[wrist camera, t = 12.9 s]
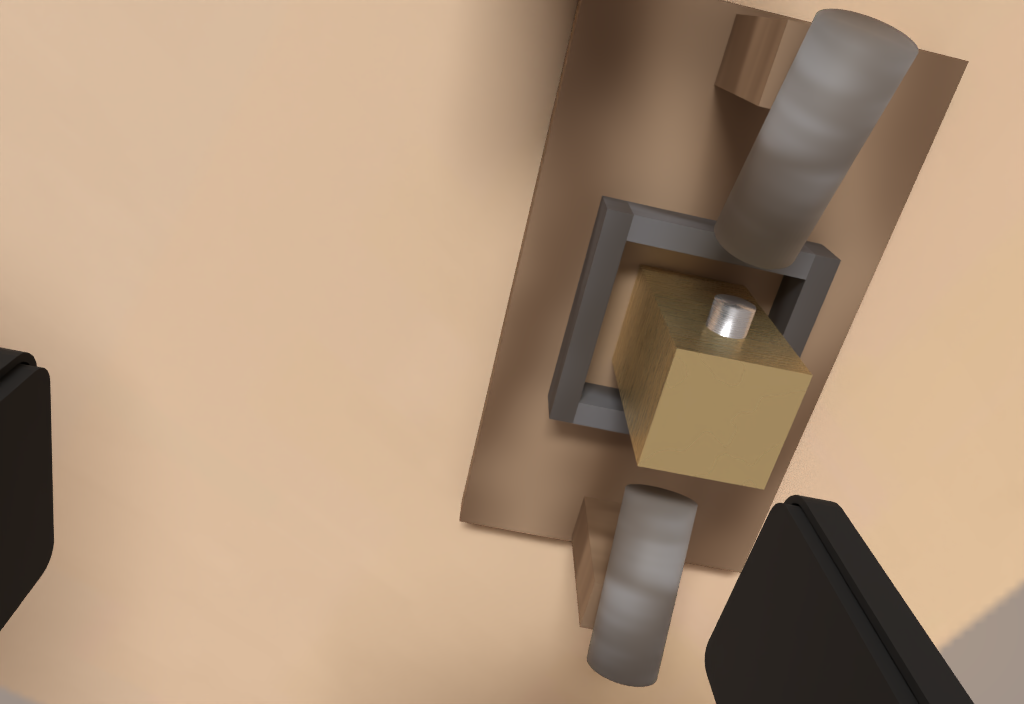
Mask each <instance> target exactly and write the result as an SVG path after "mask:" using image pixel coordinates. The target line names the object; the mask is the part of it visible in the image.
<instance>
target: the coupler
mask: <svg viewBox="0 0 1024 704" xmlns="http://www.w3.org/2000/svg"><path fill="white" fill-rule="evenodd" d="M612 364H613V368H614V372H615V376H616V380H617V384H618V388H619V392H620V397H621V401H622V405H623V409H624V413H625V417H626V421H627V425H628V429H629V433H630V437H631V442H632V446H633V450H634V454H635V458H636V462H637V466H640V467H645V468H650V469H656V470H661V471H667V472H672V473H677V474H683V475H688V476H694V477H699V478H704V479H710V480H715V481H720V482H726V483H731V484H737V485H742V486H747V487H753V488H758V489H763V490H764V489H765V486H766V484H767V482H768V479H769V477H770V475H771V472H772V470H773V468H774V465H775V463H776V461H777V458H778V456H779V454H780V451H781V449H782V447H783V444H784V442H785V439H786V437H787V435H788V432H789V430H790V428H791V425H792V423H793V421H794V418H795V416H796V414H797V411H798V409H799V407H800V404H801V402H802V400H803V397H804V395H805V393H806V390H807V388H808V386H809V383H810V381H811V379H812V376H813V375H812V374H811V372H810V371H809V370H808V368H807V367H806V366H805V364H804V363H803V362H802V360H801V359H800V358H799V356H798V355H797V354H796V353H795V351H794V350H793V349H792V347H791V346H790V345H789V343H788V342H787V341H786V339H785V338H784V337H783V335H782V334H781V333H780V331H779V330H778V329H777V327H776V326H775V325H774V323H773V322H772V321H771V320H770V318H769V317H768V316H767V314H766V313H765V312H764V310H763V309H762V308H761V306H760V305H759V304H758V302H757V301H756V300H755V298H754V297H753V296H752V294H751V293H750V292H749V290H748V289H747V288H746V286H744V285H739V284H734V283H729V282H724V281H720V280H715V279H710V278H705V277H700V276H695V275H691V274H686V273H681V272H676V271H671V270H667V269H662V268H657V267H652V266H647V265H642V264H640V267H639V270H638V274H637V277H636V280H635V284H634V287H633V290H632V294H631V297H630V300H629V304H628V307H627V311H626V314H625V317H624V321H623V324H622V327H621V331H620V334H619V338H618V341H617V344H616V348H615V351H614V354H613V358H612Z"/></svg>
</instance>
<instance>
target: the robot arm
mask: <svg viewBox="0 0 1024 704" xmlns="http://www.w3.org/2000/svg"><path fill="white" fill-rule="evenodd" d="M53 545H54V525H53V481H52V438H51V394H50V376H49V373H48V371H47V370H46V369H45V368H41V367H37V364H36V361H35V359H34V357H33V356H32V355H31V354H30V353H27V352H21V351H16V350H10V349H5V348H0V631H1V629H2V628H3V627H4V625H5V624H6V623H7V621H8V620H9V619H10V617H11V616H12V615H13V613H14V612H15V611H16V609H17V608H18V607H19V605H20V604H21V602H22V601H23V600H24V598H25V597H26V596H27V594H28V593H29V592H30V590H31V589H32V588H33V586H34V585H35V584H36V582H37V581H38V580H39V578H40V577H41V576H42V574H43V573H44V571H45V569H46V567H47V565H48V563H49V561H50V558H51V555H52V551H53ZM705 669H706V673H707V676H708V679H709V683H710V686H711V689H712V692H713V695H714V698H715V701H716V704H974V703H973V701H972V700H971V699H970V697H969V695H968V694H967V693H966V691H965V690H964V688H963V687H962V685H961V684H960V682H959V681H958V679H957V678H956V676H955V675H954V673H953V672H952V670H951V669H950V668H949V666H948V665H947V663H946V662H945V660H944V659H943V657H942V656H941V654H940V653H939V651H938V650H937V648H936V647H935V645H934V644H933V642H932V641H931V639H930V638H929V636H928V635H927V633H926V632H925V630H924V629H923V628H922V626H921V625H920V623H919V622H918V620H917V619H916V617H915V616H914V614H913V613H912V611H911V610H910V608H909V607H908V605H907V604H906V602H905V601H904V599H903V598H902V596H901V595H900V594H899V592H898V591H897V589H896V588H895V586H894V585H893V583H892V582H891V580H890V579H889V577H888V576H887V574H886V573H885V571H884V570H883V568H882V567H881V565H880V564H879V563H878V561H877V560H876V558H875V557H874V555H873V554H872V552H871V551H870V549H869V548H868V546H867V545H866V543H865V542H864V540H863V539H862V537H861V536H860V534H859V533H858V531H857V530H856V529H855V527H854V526H853V524H852V523H851V521H850V520H849V518H848V517H847V515H846V514H845V512H844V511H843V509H842V508H841V507H840V506H839V505H838V504H837V503H835V502H832V501H826V500H821V499H816V498H810V497H805V496H799V495H793V496H790V497H789V498H788V499H787V500H786V501H785V502H784V503H777V504H776V505H774V506H773V508H772V509H771V511H770V513H769V515H768V517H767V519H766V521H765V523H764V525H763V527H762V529H761V532H760V534H759V536H758V538H757V540H756V542H755V544H754V546H753V548H752V551H751V553H750V555H749V557H748V559H747V561H746V563H745V565H744V567H743V570H742V572H741V574H740V576H739V578H738V580H737V582H736V584H735V586H734V589H733V591H732V593H731V595H730V597H729V599H728V601H727V603H726V605H725V608H724V610H723V612H722V614H721V616H720V618H719V620H718V622H717V624H716V627H715V629H714V631H713V633H712V635H711V637H710V639H709V641H708V644H707V647H706V652H705Z"/></svg>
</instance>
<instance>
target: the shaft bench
mask: <svg viewBox="0 0 1024 704" xmlns="http://www.w3.org/2000/svg"><path fill="white" fill-rule="evenodd" d="M968 62H969V61H965V60H961V59H957V58H953V57H949V56H945V55H941V54H937V53H933V52H929V51H925V50H921V49H918V47H917V45H916V44H915V43H914V42H913V41H912V40H911V39H910V38H909V37H908V36H906V35H905V34H904V33H902V32H901V31H899V30H897V29H896V28H894V27H892V26H890V25H888V24H886V23H884V22H882V21H879V20H877V19H874V18H872V17H869V16H866V15H863V14H860V13H856V12H852V11H847V10H841V9H823V10H820V11H818V12H817V13H816V15H815V17H814V19H813V21H812V23H811V22H807V21H803V20H799V19H795V18H791V17H787V16H783V15H779V14H775V13H771V12H767V11H763V10H759V9H755V8H751V7H746V6H742V5H738V4H734V3H730V2H726V1H722V0H578V5H577V9H576V13H575V17H574V22H573V26H572V30H571V35H570V39H569V43H568V47H567V52H566V56H565V60H564V65H563V69H562V73H561V78H560V82H559V86H558V90H557V95H556V99H555V103H554V108H553V112H552V116H551V121H550V125H549V129H548V133H547V138H546V142H545V146H544V151H543V155H542V159H541V163H540V168H539V172H538V176H537V181H536V185H535V189H534V194H533V198H532V202H531V206H530V211H529V215H528V219H527V224H526V228H525V232H524V236H523V241H522V245H521V249H520V254H519V258H518V262H517V267H516V271H515V275H514V279H513V284H512V288H511V292H510V297H509V301H508V305H507V310H506V314H505V318H504V322H503V327H502V331H501V335H500V340H499V344H498V348H497V352H496V357H495V361H494V365H493V370H492V374H491V378H490V383H489V387H488V391H487V395H486V400H485V404H484V408H483V413H482V417H481V421H480V426H479V430H478V434H477V438H476V443H475V447H474V451H473V456H472V460H471V464H470V468H469V473H468V477H467V481H466V486H465V490H464V494H463V499H462V504H461V512H460V521H461V522H467V523H472V524H478V525H483V526H488V527H494V528H499V529H505V530H510V531H516V532H521V533H527V534H532V535H538V536H543V537H549V538H554V539H559V540H565V541H570V542H572V546H573V557H574V568H575V579H576V590H577V601H578V612H579V623H580V627H584V628H589V629H593V632H592V637H591V641H590V645H589V650H588V654H587V662H588V664H589V665H590V667H591V668H592V669H593V670H594V671H596V672H597V673H598V674H600V675H601V676H603V677H605V678H607V679H609V680H611V681H614V682H616V683H619V684H623V685H627V686H634V687H644V686H649V685H652V684H654V683H655V682H656V680H657V677H658V673H659V668H660V664H661V660H662V656H663V651H664V647H665V643H666V639H667V634H668V630H669V626H670V622H671V617H672V613H673V609H674V605H675V600H676V596H677V592H678V588H679V583H680V579H681V575H682V571H683V566H684V562H685V563H690V564H696V565H701V566H707V567H712V568H718V569H723V570H729V571H734V572H740V573H741V571H742V569H743V567H744V564H745V562H746V560H747V558H748V555H749V553H750V551H751V549H752V547H753V544H754V542H755V540H756V538H757V535H758V533H759V531H760V529H761V526H762V524H763V522H764V520H765V517H766V515H767V513H768V511H769V508H770V506H771V504H772V502H773V499H774V497H775V495H776V493H777V490H778V488H779V486H780V484H781V481H782V479H783V477H784V475H785V472H786V470H787V468H788V466H789V463H790V461H791V459H792V457H793V455H794V452H795V450H796V448H797V446H798V443H799V441H800V439H801V437H802V434H803V432H804V430H805V428H806V425H807V423H808V421H809V419H810V416H811V414H812V412H813V410H814V407H815V405H816V403H817V401H818V398H819V396H820V394H821V392H822V389H823V387H824V385H825V383H826V380H827V378H828V376H829V374H830V371H831V369H832V367H833V365H834V363H835V360H836V358H837V356H838V354H839V351H840V349H841V347H842V345H843V342H844V340H845V338H846V336H847V333H848V331H849V329H850V327H851V324H852V322H853V320H854V318H855V315H856V313H857V311H858V309H859V306H860V304H861V302H862V300H863V297H864V295H865V293H866V291H867V288H868V286H869V284H870V282H871V279H872V277H873V275H874V273H875V271H876V268H877V266H878V264H879V262H880V259H881V257H882V255H883V253H884V250H885V248H886V246H887V244H888V241H889V239H890V237H891V235H892V232H893V230H894V228H895V226H896V223H897V221H898V219H899V217H900V214H901V212H902V210H903V208H904V205H905V203H906V201H907V199H908V196H909V194H910V192H911V190H912V187H913V185H914V183H915V181H916V179H917V176H918V174H919V172H920V170H921V167H922V165H923V163H924V161H925V158H926V156H927V154H928V152H929V149H930V147H931V145H932V143H933V140H934V138H935V136H936V134H937V131H938V129H939V127H940V125H941V122H942V120H943V118H944V116H945V113H946V111H947V109H948V107H949V104H950V102H951V100H952V98H953V95H954V93H955V91H956V89H957V87H958V84H959V82H960V80H961V78H962V75H963V73H964V71H965V69H966V66H967V64H968ZM640 264H642V265H647V266H652V267H657V268H662V269H667V270H671V271H676V272H681V273H686V274H691V275H695V276H700V277H705V278H710V279H715V280H720V281H724V282H729V283H734V284H739V285H744V286H746V288H747V289H748V290H749V292H750V293H751V294H752V296H753V297H754V298H755V300H756V301H757V302H758V304H759V305H760V306H761V308H762V309H763V310H764V312H765V313H766V314H767V316H768V317H769V318H770V320H771V321H772V322H773V323H774V325H775V326H776V327H777V329H778V330H779V331H780V333H781V334H782V335H783V337H784V338H785V339H786V341H787V342H788V343H789V345H790V346H791V347H792V349H793V350H794V351H795V353H796V354H797V355H798V356H799V358H800V359H801V360H802V362H803V363H804V364H805V366H806V367H807V368H808V370H809V371H810V372H811V374H812V375H813V376H812V379H811V381H810V383H809V386H808V388H807V390H806V393H805V395H804V397H803V400H802V402H801V404H800V407H799V409H798V411H797V414H796V416H795V418H794V421H793V423H792V425H791V428H790V430H789V432H788V435H787V437H786V439H785V442H784V444H783V447H782V449H781V451H780V454H779V456H778V458H777V461H776V463H775V465H774V468H773V470H772V472H771V475H770V477H769V479H768V482H767V484H766V486H765V489H764V490H763V489H758V488H753V487H747V486H742V485H737V484H731V483H726V482H720V481H715V480H710V479H704V478H699V477H694V476H688V475H683V474H677V473H672V472H667V471H661V470H656V469H650V468H645V467H640V466H637V462H636V458H635V454H634V450H633V446H632V442H631V437H630V433H629V429H628V425H627V421H626V417H625V413H624V409H623V405H622V401H621V397H620V392H619V388H618V384H617V380H616V376H615V372H614V368H613V364H612V358H613V354H614V351H615V348H616V344H617V341H618V338H619V334H620V331H621V327H622V324H623V321H624V317H625V314H626V311H627V307H628V304H629V300H630V297H631V294H632V290H633V287H634V284H635V280H636V277H637V274H638V270H639V267H640Z"/></svg>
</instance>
